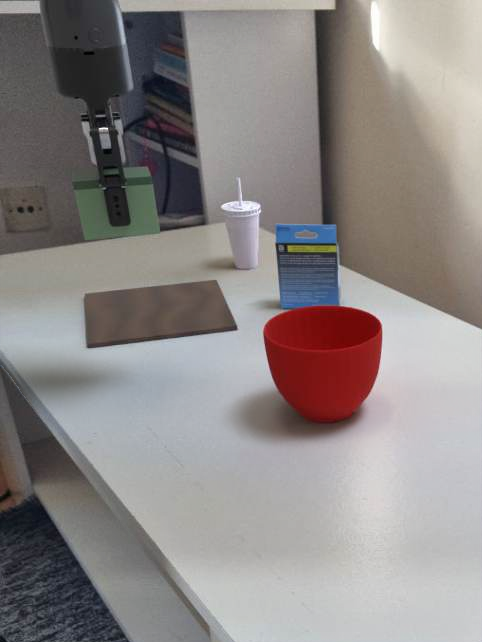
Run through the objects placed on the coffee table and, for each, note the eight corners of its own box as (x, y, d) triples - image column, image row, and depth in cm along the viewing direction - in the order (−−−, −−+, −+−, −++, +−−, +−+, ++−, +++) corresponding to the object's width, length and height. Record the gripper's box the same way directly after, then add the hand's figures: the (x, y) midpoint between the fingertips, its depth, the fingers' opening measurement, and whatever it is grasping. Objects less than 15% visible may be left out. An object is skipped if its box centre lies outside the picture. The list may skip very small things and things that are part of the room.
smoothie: (229, 273, 131) (219, 183, 123) (225, 261, 136) (215, 174, 128) (268, 269, 133) (260, 180, 125) (262, 258, 138) (255, 171, 130)
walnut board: (88, 348, 107) (87, 343, 107) (85, 297, 123) (84, 293, 122) (237, 329, 112) (237, 325, 112) (216, 283, 128) (216, 279, 127)
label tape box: (341, 300, 121) (338, 216, 114) (339, 310, 118) (336, 224, 111) (283, 299, 121) (277, 216, 114) (280, 309, 118) (273, 224, 111)
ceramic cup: (403, 377, 100) (404, 299, 94) (364, 443, 86) (362, 357, 81) (305, 365, 102) (300, 289, 97) (252, 428, 89) (243, 343, 83)
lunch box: (160, 233, 89) (151, 176, 85) (84, 240, 87) (72, 181, 83) (156, 221, 92) (147, 166, 89) (83, 227, 90) (71, 171, 87)
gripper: (47, 35, 84) (82, 205, 93) (44, 49, 72) (85, 240, 82) (121, 33, 85) (148, 199, 95) (130, 46, 74) (160, 233, 84)
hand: (119, 217), depth 89 cm, fingers closed on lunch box, 5 cm apart
